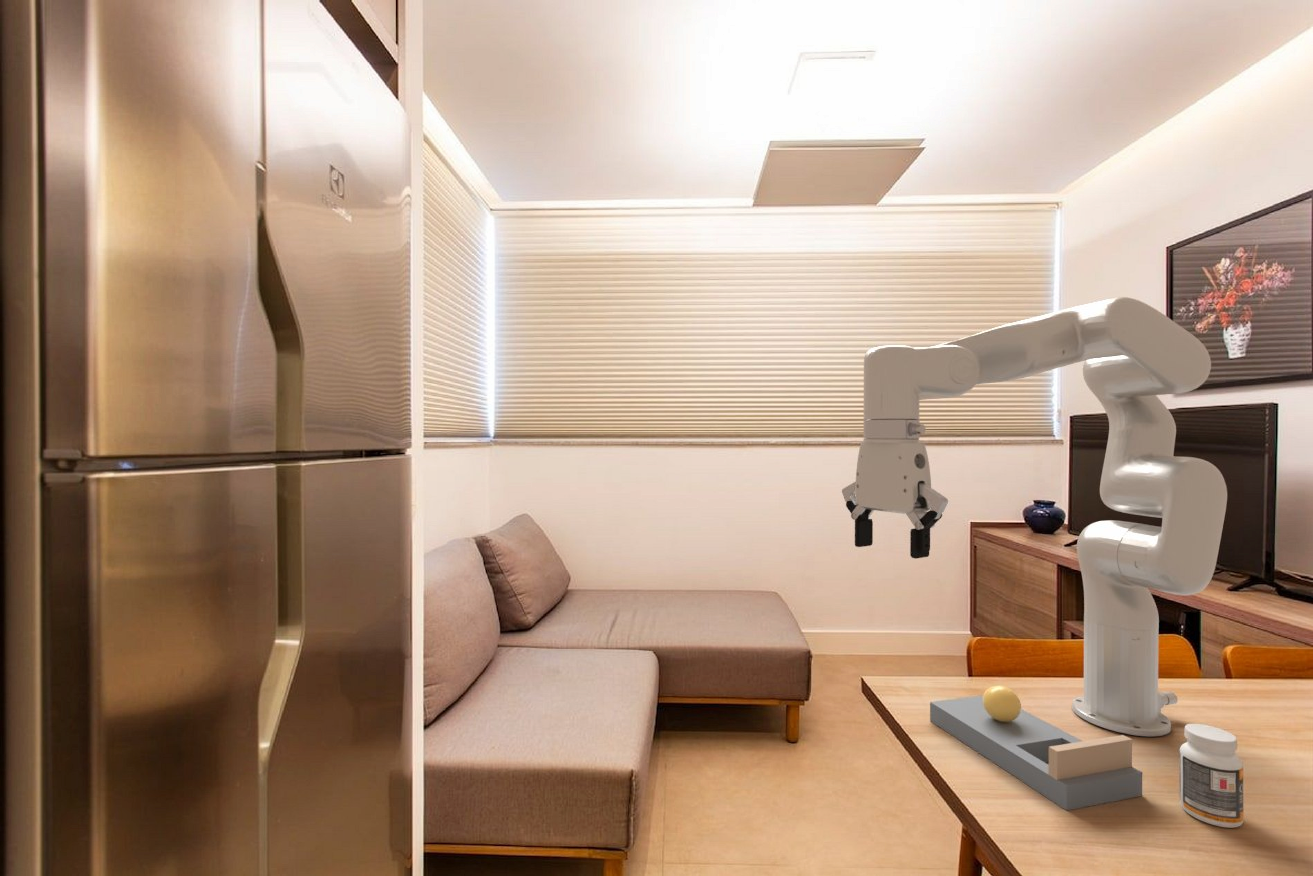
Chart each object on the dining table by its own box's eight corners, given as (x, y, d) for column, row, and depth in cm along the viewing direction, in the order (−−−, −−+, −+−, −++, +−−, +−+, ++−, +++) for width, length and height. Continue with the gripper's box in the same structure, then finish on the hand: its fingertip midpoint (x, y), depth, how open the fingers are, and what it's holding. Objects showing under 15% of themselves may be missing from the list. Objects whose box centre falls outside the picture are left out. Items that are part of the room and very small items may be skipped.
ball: (1001, 711, 94) (1002, 678, 94) (1029, 726, 89) (1029, 691, 89) (974, 714, 93) (974, 682, 93) (1001, 730, 88) (1001, 695, 88)
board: (992, 712, 100) (992, 672, 100) (1142, 795, 77) (1142, 744, 77) (930, 720, 97) (930, 680, 97) (1066, 810, 74) (1066, 757, 74)
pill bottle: (1256, 833, 70) (1257, 746, 70) (1198, 826, 71) (1199, 741, 71) (1221, 804, 76) (1222, 723, 76) (1168, 798, 77) (1168, 719, 77)
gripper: (963, 432, 83) (962, 559, 83) (861, 433, 98) (861, 540, 98) (927, 432, 79) (926, 565, 79) (827, 432, 94) (827, 544, 94)
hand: (890, 551), depth 88 cm, fingers open, 9 cm apart
